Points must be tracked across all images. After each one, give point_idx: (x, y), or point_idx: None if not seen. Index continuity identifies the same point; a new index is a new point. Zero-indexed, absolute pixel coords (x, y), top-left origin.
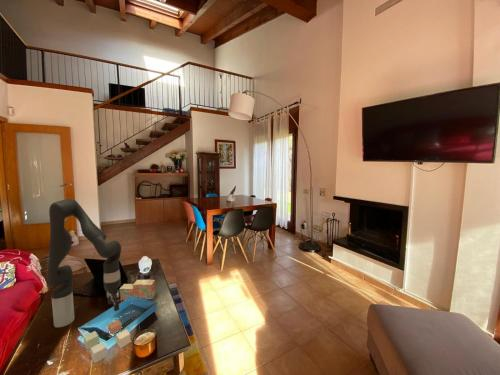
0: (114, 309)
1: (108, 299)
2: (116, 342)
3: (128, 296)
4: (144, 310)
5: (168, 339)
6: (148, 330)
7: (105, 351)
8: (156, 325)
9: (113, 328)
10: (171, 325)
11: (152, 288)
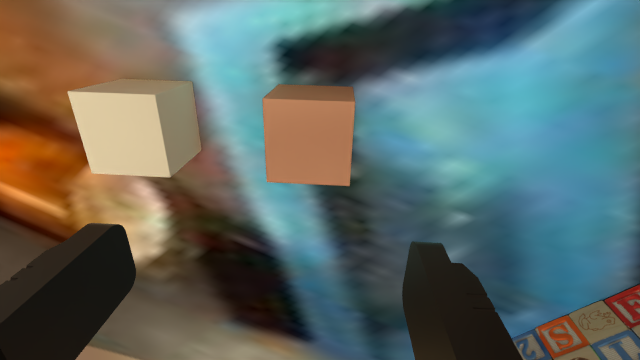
0: (76, 239)
1: (453, 336)
2: (186, 82)
3: (599, 349)
4: (373, 320)
5: None
6: (172, 253)
7: None
8: (183, 294)
9: (263, 114)
10: (130, 331)
11: None
